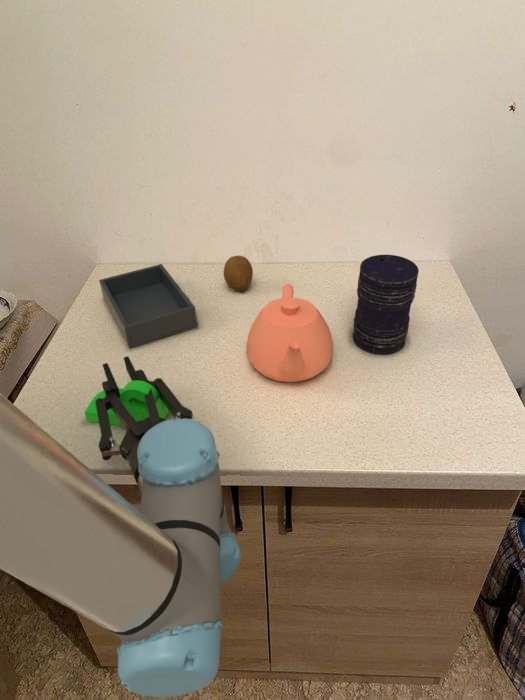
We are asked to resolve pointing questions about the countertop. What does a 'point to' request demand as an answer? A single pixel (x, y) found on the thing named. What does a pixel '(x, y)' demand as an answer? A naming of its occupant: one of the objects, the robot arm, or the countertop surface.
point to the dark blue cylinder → (384, 303)
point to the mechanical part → (130, 403)
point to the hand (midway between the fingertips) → (117, 366)
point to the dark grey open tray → (148, 305)
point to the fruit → (238, 273)
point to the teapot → (289, 339)
